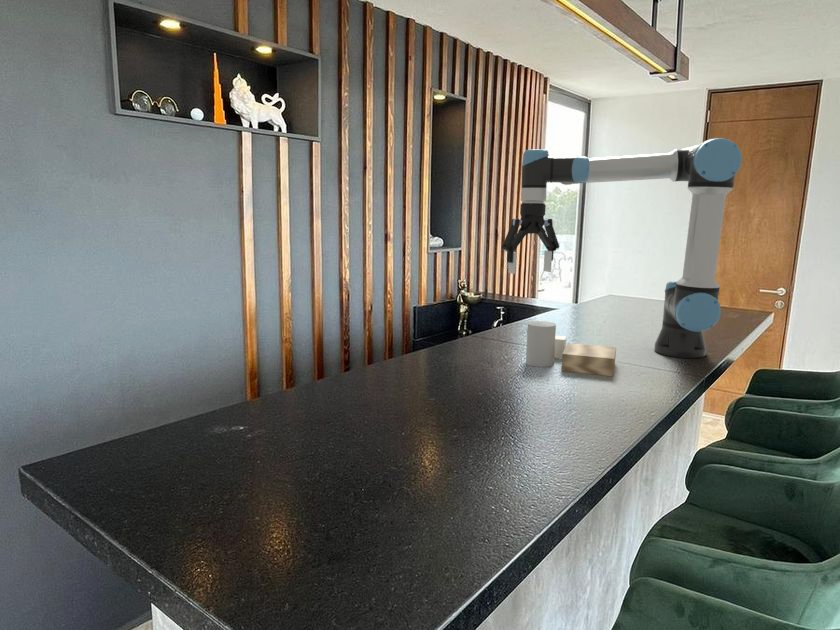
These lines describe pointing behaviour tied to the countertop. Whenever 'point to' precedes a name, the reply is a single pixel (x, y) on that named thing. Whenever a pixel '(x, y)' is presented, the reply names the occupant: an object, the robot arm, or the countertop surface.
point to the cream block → (559, 346)
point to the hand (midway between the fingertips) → (529, 272)
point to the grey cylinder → (540, 343)
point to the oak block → (589, 359)
